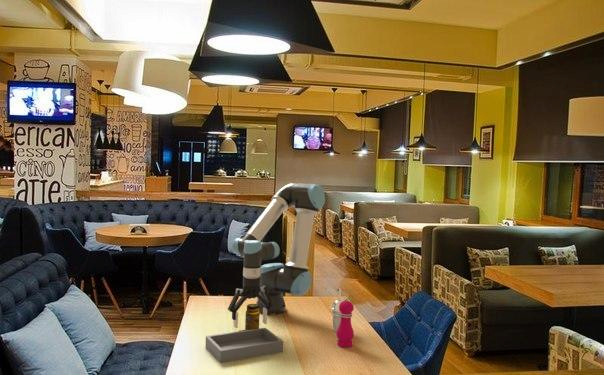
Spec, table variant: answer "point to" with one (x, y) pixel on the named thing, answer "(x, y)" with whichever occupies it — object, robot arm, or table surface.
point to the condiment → (252, 317)
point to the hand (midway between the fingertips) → (250, 325)
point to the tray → (243, 344)
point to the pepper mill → (345, 324)
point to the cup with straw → (336, 312)
